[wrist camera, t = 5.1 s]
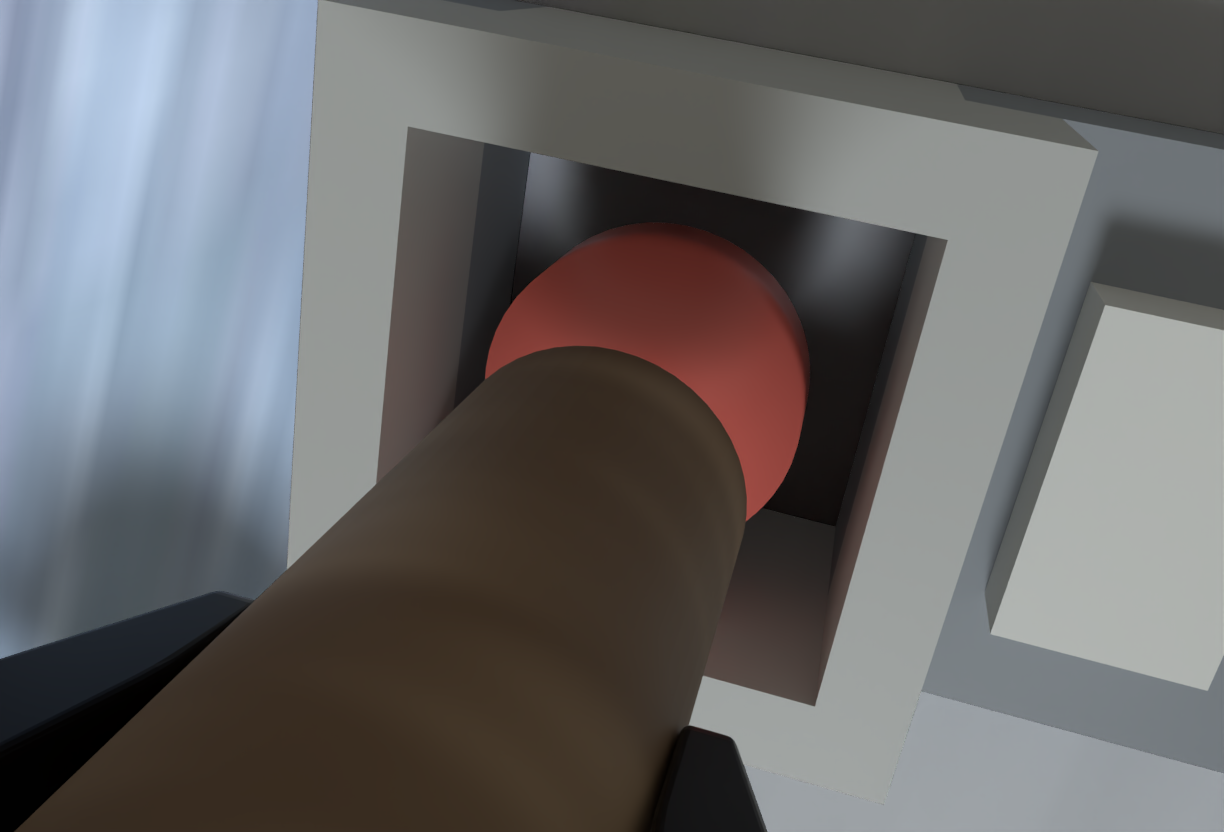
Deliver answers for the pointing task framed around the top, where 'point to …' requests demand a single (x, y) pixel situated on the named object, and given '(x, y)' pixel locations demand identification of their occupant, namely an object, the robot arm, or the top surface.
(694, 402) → the dowel
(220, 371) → the top surface
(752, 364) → the red dome cap
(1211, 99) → the top surface
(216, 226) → the top surface
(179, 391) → the top surface
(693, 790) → the robot arm
